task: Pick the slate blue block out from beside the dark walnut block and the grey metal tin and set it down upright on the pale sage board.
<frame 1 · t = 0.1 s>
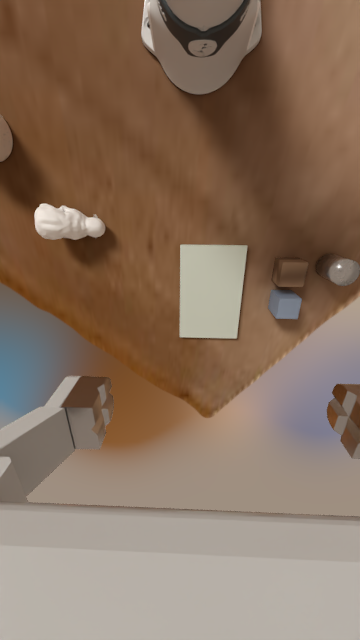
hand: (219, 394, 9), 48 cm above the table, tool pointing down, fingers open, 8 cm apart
sage board: (210, 294, 58), on the table
white figurine: (81, 223, 53), on the table
walnut block: (284, 269, 55), on the table
slate blue block: (279, 299, 58), on the table
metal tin: (327, 265, 54), on the table
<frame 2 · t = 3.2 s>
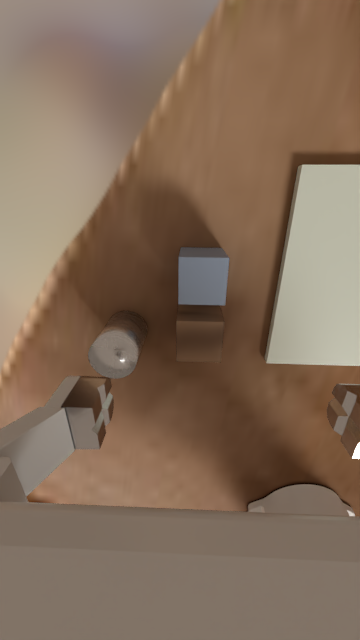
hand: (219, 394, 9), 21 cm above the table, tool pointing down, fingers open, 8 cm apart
sage board: (340, 278, 28), on the table
walnut block: (198, 322, 32), on the table
slate blue block: (200, 267, 29), on the table
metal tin: (127, 328, 32), on the table
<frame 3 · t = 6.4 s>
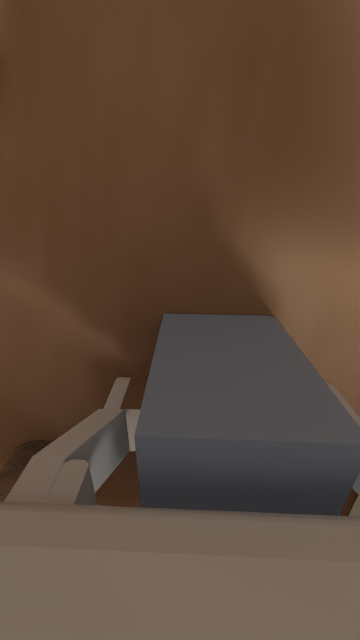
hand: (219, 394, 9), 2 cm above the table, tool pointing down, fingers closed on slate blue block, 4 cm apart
slate blue block: (214, 360, 11), on the table, touching gripper
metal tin: (53, 470, 15), on the table
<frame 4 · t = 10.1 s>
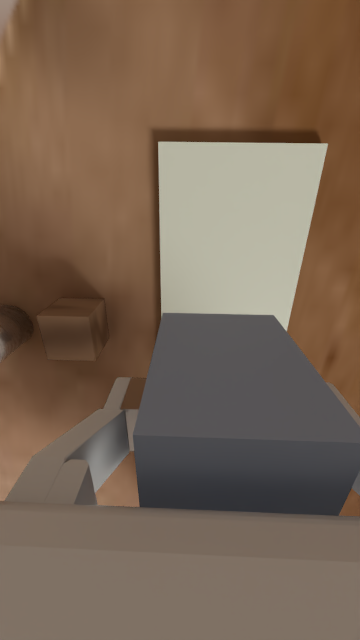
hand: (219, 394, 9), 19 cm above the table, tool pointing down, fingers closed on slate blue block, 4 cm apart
sage board: (227, 271, 26), on the table
walnut block: (85, 318, 29), on the table
slate blue block: (214, 360, 11), point 17 cm above the table, touching gripper
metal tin: (12, 324, 30), on the table
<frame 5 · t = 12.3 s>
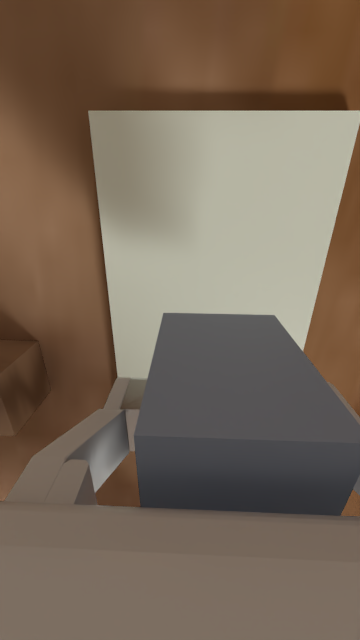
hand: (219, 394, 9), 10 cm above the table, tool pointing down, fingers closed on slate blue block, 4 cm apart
sage board: (208, 304, 18), on the table
walnut block: (16, 365, 21), on the table
slate blue block: (214, 360, 11), point 8 cm above the table, touching gripper
when the fingers open (5 cm above the table, at t = 14.1 s): slate blue block drops 1 cm, resting on sage board.
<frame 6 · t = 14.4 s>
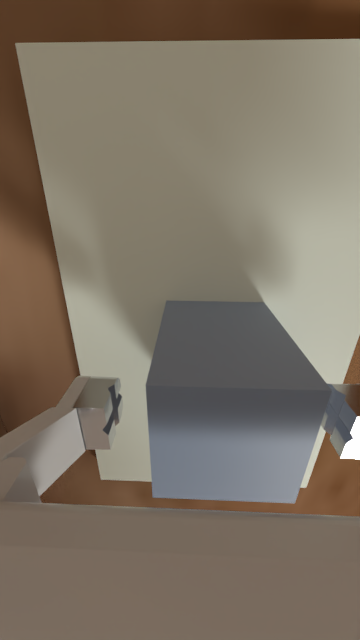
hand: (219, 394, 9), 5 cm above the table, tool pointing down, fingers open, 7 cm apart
sage board: (210, 334, 13), on the table
slate blue block: (212, 343, 12), point 1 cm above the table, touching sage board
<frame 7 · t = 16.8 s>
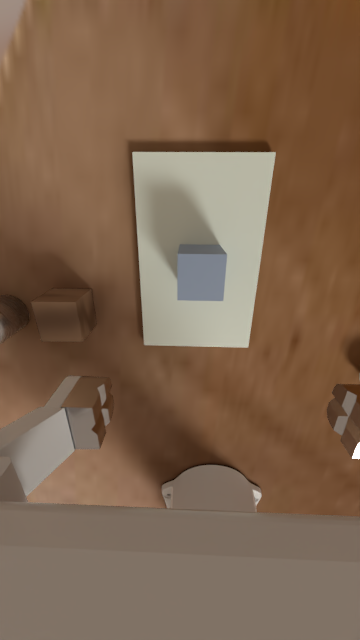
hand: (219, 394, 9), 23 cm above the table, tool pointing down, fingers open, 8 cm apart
sage board: (198, 262, 30), on the table
walnut block: (75, 306, 33), on the table
slate blue block: (198, 264, 29), point 1 cm above the table, touching sage board
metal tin: (10, 312, 34), on the table
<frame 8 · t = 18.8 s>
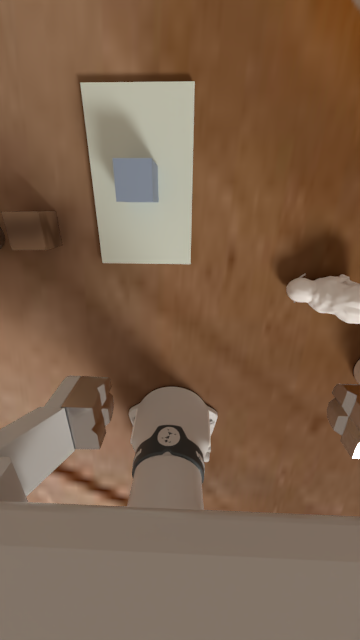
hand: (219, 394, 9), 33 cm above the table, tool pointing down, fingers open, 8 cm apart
sage board: (143, 185, 36), on the table
white figurine: (316, 288, 41), on the table
walnut block: (43, 228, 39), on the table
slate blue block: (142, 184, 35), point 1 cm above the table, touching sage board
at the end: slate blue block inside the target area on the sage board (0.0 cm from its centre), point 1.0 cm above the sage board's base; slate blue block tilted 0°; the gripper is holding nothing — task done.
